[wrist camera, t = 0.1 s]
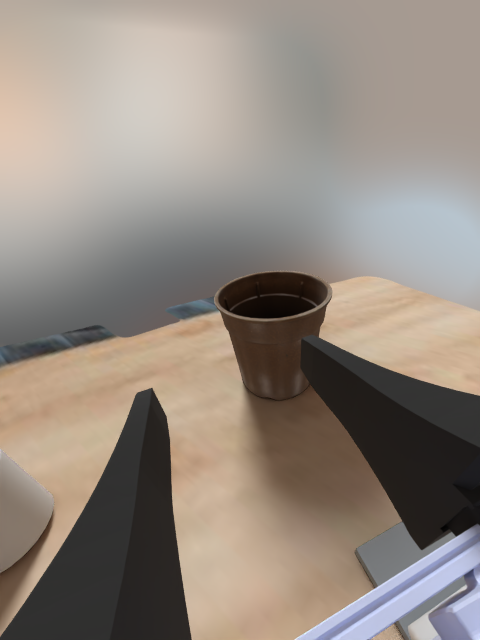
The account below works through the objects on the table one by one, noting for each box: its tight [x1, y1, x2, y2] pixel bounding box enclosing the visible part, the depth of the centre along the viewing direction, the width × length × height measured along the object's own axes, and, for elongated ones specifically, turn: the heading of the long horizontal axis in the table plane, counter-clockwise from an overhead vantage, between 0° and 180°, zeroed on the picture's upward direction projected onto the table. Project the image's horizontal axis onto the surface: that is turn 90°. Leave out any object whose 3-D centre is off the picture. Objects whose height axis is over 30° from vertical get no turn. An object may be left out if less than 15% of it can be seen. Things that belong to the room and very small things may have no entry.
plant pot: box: [214, 271, 332, 400], centre depth 37 cm, size 16×16×16 cm
